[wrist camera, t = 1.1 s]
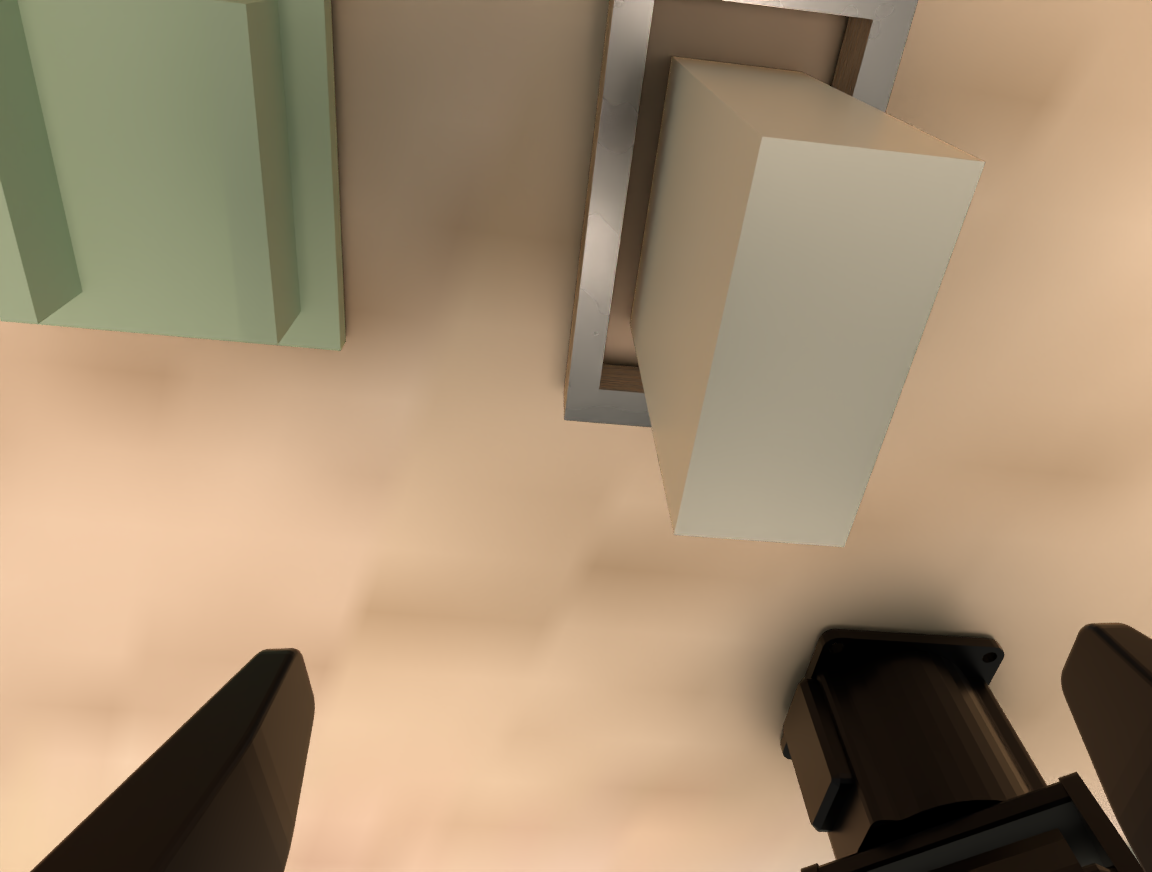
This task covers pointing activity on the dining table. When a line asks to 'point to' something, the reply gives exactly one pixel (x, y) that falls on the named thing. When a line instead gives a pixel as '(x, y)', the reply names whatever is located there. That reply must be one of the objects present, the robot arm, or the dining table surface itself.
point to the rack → (591, 387)
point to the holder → (171, 169)
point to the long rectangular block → (784, 294)
